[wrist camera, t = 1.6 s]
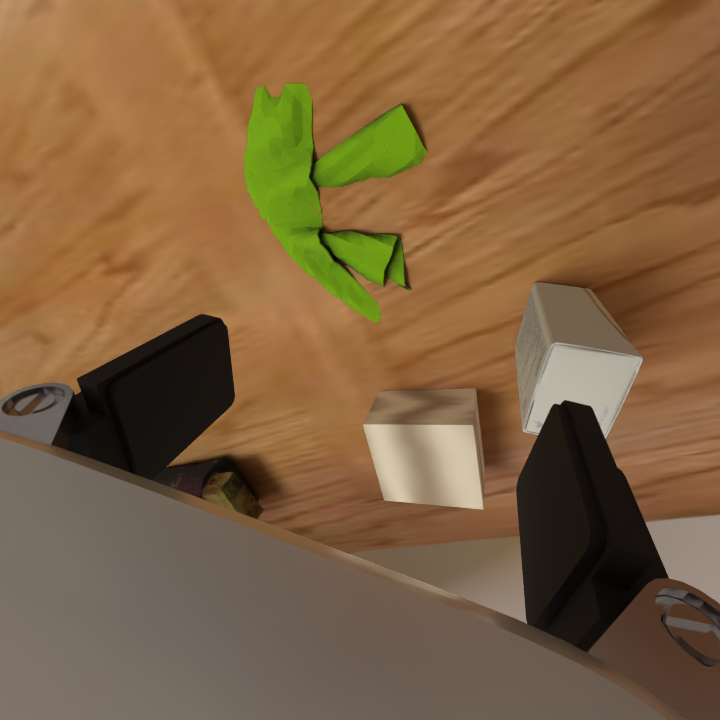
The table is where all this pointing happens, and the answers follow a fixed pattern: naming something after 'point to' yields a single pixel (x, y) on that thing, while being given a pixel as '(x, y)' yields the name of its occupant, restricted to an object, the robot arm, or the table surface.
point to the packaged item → (213, 485)
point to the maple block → (428, 447)
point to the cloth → (335, 169)
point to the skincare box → (571, 356)
